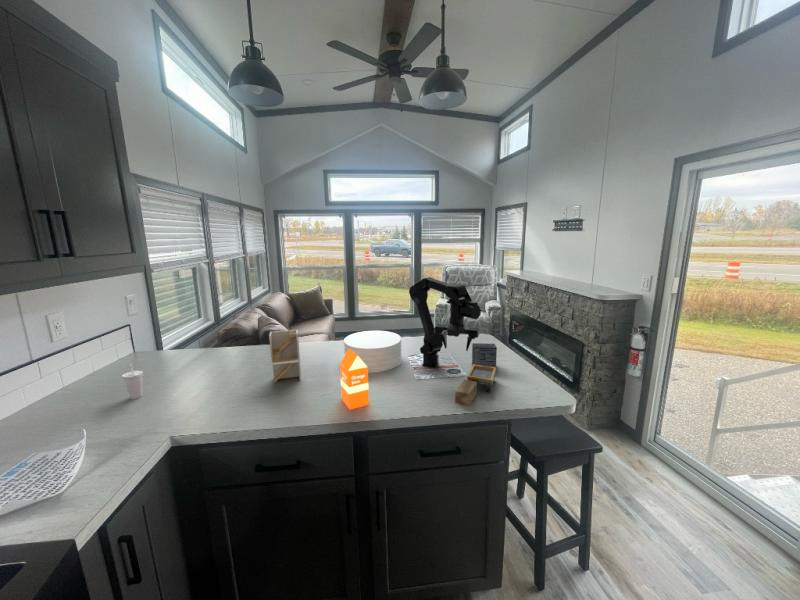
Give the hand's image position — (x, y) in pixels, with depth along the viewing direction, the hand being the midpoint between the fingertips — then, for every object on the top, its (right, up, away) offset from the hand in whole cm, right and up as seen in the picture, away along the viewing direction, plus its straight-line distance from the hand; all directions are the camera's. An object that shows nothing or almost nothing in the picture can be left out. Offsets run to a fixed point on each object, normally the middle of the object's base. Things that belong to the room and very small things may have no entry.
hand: (456, 349), depth 142 cm
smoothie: (-128, -17, -14) cm, 129 cm away
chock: (+1, -16, -17) cm, 23 cm away
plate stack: (-38, -9, +21) cm, 44 cm away
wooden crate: (-73, -14, 0) cm, 75 cm away
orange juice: (-41, -17, -19) cm, 48 cm away
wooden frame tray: (+9, -13, -7) cm, 18 cm away
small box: (+15, -10, +12) cm, 22 cm away
